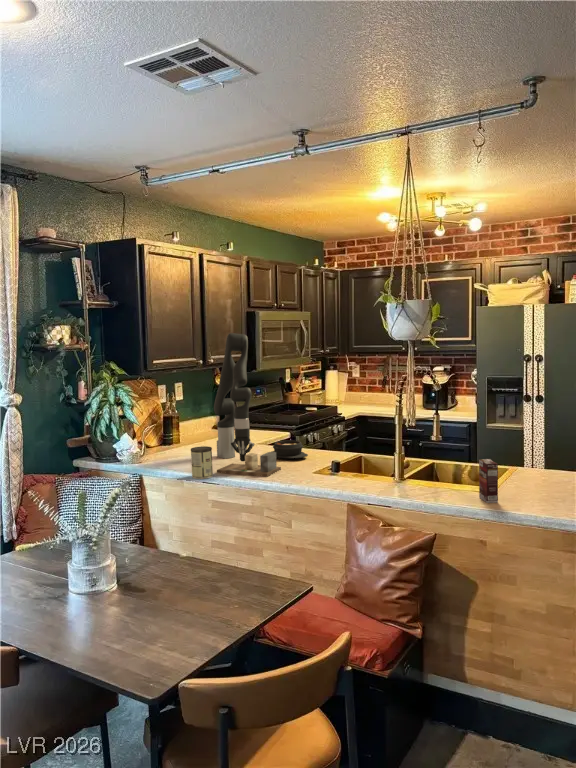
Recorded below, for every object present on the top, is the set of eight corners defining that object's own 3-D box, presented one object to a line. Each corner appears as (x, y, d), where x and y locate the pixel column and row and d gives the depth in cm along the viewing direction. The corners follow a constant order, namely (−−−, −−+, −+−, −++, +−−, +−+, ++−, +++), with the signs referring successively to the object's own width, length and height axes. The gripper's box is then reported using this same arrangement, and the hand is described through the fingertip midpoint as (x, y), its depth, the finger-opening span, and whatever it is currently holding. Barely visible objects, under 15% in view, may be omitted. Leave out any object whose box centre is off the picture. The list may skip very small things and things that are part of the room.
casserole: (261, 457, 346) (260, 442, 345) (285, 452, 358) (285, 437, 358) (290, 463, 327) (290, 447, 327) (315, 457, 340) (315, 442, 339)
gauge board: (216, 472, 308) (216, 454, 308) (232, 466, 323) (231, 448, 322) (267, 476, 297) (266, 457, 296) (280, 469, 312) (280, 451, 311)
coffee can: (197, 473, 308) (196, 445, 307) (216, 474, 304) (215, 446, 303) (187, 478, 298) (186, 449, 297) (207, 479, 295) (205, 450, 294)
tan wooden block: (241, 470, 304) (241, 456, 303) (250, 466, 313) (250, 453, 312) (248, 471, 302) (248, 457, 302) (257, 467, 311) (257, 453, 311)
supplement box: (478, 497, 251) (478, 459, 250) (490, 497, 251) (490, 458, 250) (486, 503, 242) (486, 463, 241) (498, 502, 243) (498, 463, 241)
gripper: (226, 427, 309) (227, 461, 310) (250, 428, 303) (251, 463, 305) (234, 425, 315) (235, 459, 317) (257, 426, 310) (258, 460, 311)
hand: (243, 461), depth 311 cm, fingers closed
